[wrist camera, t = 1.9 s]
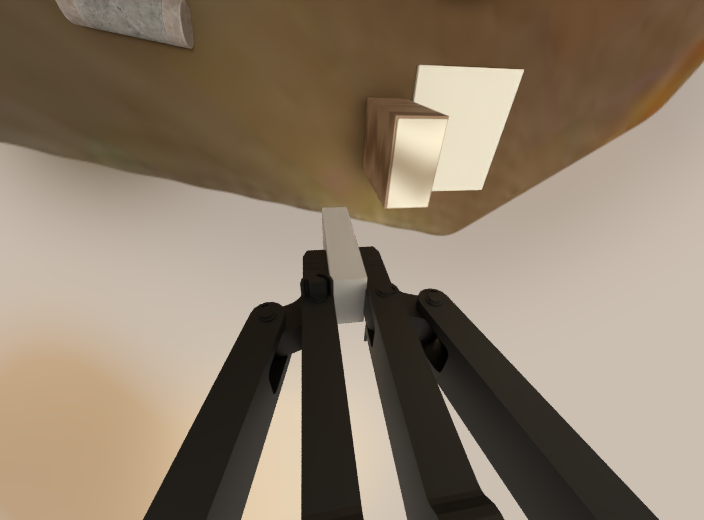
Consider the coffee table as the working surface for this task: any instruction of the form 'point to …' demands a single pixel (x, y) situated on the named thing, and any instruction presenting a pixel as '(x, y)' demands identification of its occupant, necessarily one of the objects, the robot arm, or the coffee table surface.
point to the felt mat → (467, 118)
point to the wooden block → (402, 150)
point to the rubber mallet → (135, 18)
